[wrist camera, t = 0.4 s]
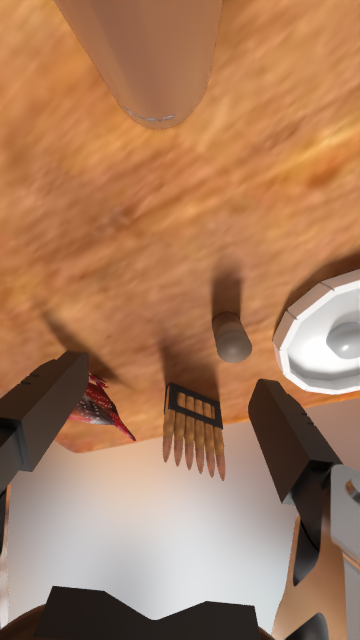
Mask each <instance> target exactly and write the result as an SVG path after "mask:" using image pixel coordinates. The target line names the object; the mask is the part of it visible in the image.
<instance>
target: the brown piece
mask: <svg viewBox="0 0 360 640" xmlns="http://www.w3.org/2000/svg"><path fill="white" fill-rule="evenodd" d="M212 328H213V333H214V337H215V342H216V347H217V352H218V355H219V357H220V358H221V359H222V360H224V361H226V362H230V363H236V362H240V361H243V360H245V359H246V358H247V357H248V356H249V355H250V353H251V351H252V344H251V342H250V340H249V338H248V336H247V334H246V332H245V330H244V328H243V326H242V324H241V322H240V319H239V318H238V316H237V315H236V314H234V313H232V312H223V313H220V314H218V315H217V316H216V317H215V318H214V319H213V322H212Z"/></svg>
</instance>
